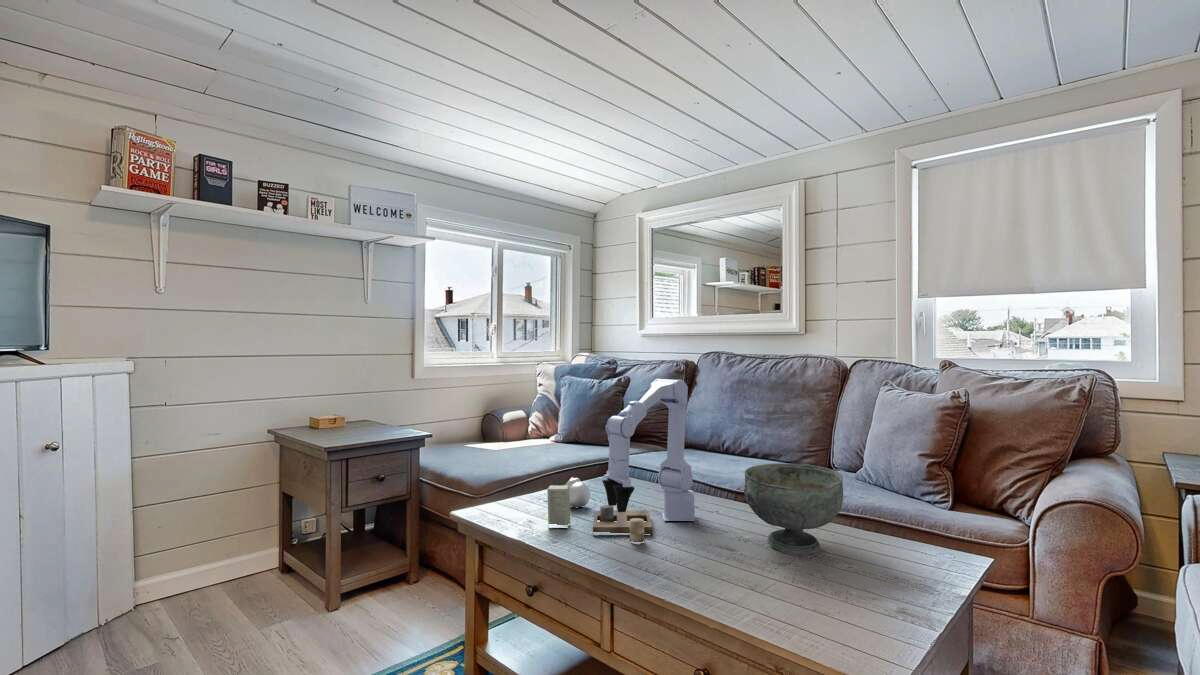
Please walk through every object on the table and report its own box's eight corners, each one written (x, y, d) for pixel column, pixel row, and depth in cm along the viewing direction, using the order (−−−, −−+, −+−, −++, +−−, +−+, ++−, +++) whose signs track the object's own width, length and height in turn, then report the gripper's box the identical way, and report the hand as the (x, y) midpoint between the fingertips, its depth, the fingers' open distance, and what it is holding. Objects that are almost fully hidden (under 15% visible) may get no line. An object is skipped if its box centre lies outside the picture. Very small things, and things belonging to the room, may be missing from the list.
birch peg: (643, 539, 161) (643, 518, 161) (644, 544, 157) (644, 522, 157) (629, 539, 161) (629, 518, 161) (630, 544, 157) (629, 522, 157)
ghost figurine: (578, 502, 199) (578, 473, 199) (595, 508, 192) (595, 478, 192) (557, 507, 193) (557, 477, 193) (574, 513, 186) (574, 482, 186)
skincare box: (570, 524, 174) (570, 485, 174) (568, 529, 170) (567, 488, 170) (550, 524, 175) (549, 484, 175) (547, 529, 171) (547, 488, 171)
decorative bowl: (856, 569, 138) (854, 486, 139) (747, 562, 144) (746, 482, 144) (834, 533, 164) (833, 463, 165) (742, 528, 170) (741, 460, 170)
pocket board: (648, 518, 180) (648, 499, 180) (652, 535, 164) (651, 514, 164) (594, 518, 180) (594, 499, 180) (592, 535, 164) (592, 515, 164)
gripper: (597, 455, 165) (595, 503, 165) (614, 463, 152) (611, 515, 151) (620, 455, 168) (618, 502, 167) (638, 463, 154) (636, 514, 153)
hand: (616, 508), depth 159 cm, fingers open, 7 cm apart
